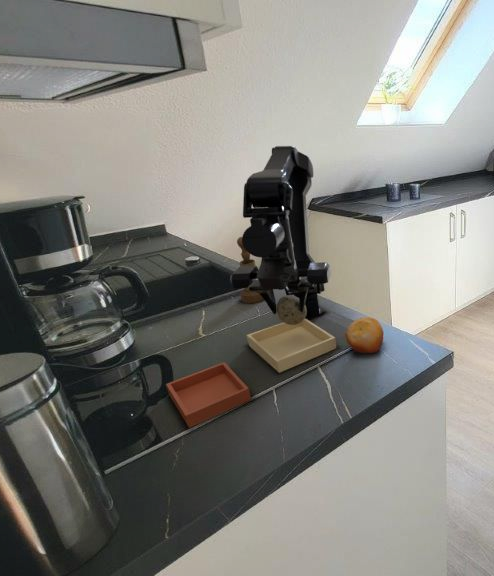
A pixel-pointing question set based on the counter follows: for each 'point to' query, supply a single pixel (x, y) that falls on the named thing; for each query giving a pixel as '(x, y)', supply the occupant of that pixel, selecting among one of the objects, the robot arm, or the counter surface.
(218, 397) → the terracotta tray
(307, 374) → the counter surface
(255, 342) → the sand tray
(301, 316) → the decorative egg
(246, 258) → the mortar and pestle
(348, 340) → the fruit
